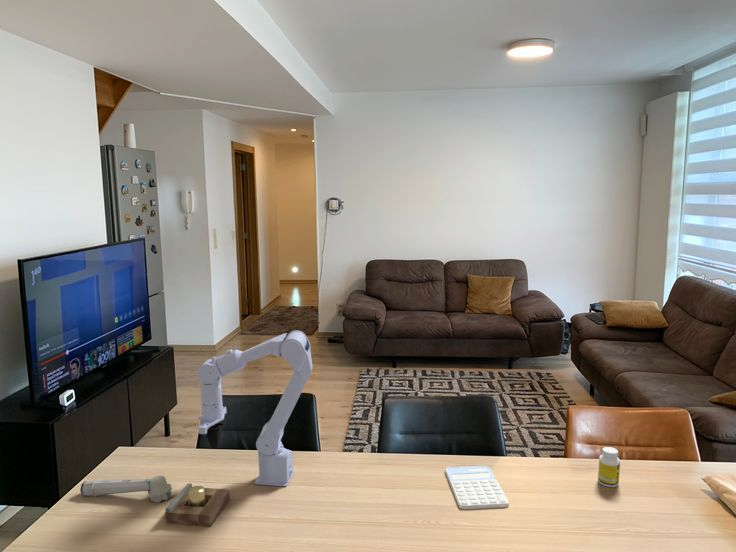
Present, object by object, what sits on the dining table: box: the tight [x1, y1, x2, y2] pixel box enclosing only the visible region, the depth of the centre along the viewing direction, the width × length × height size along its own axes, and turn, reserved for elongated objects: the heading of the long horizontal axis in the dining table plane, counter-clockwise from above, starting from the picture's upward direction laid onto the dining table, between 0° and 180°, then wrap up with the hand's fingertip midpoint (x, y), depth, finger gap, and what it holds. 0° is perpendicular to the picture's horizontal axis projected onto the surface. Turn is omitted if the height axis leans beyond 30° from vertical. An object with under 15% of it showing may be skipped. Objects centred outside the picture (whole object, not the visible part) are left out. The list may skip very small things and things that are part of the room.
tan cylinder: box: [188, 485, 206, 507], centre depth 144 cm, size 4×4×6 cm
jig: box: [164, 482, 231, 527], centre depth 144 cm, size 12×12×4 cm
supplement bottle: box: [597, 446, 621, 488], centre depth 154 cm, size 5×5×10 cm
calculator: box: [445, 465, 510, 510], centre depth 153 cm, size 13×20×2 cm, turn 4°
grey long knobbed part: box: [79, 475, 173, 503], centre depth 151 cm, size 5×7×25 cm
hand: (214, 446), depth 158 cm, fingers closed
